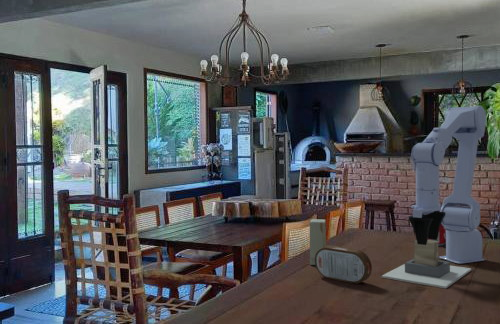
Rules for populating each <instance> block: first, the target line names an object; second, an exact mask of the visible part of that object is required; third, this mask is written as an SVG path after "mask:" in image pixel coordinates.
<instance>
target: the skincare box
mask: <svg viewBox="0 0 500 324" xmlns="http://www.w3.org/2000/svg"><path fill="white" fill-rule="evenodd" d="M326 221H327V220H326V219H320V218H318V219H316V218H314V219H313V218H311V219H310V221H309V265H310V266H316V265H315V255H316V253H317V251H318V250H319V249H321V248H323V247H324V246H326V245H327V240H326V239H327V234H326V233H327V231H326V227H327V225H326V224H327V223H326Z"/></svg>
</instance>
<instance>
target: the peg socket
mask: <svg viewBox="0 0 500 324" xmlns="http://www.w3.org/2000/svg"><path fill="white" fill-rule="evenodd" d="M471 271H472V268H471V267H470V268H469V267H465V266H464V267H463V266H458V265H457V266H455V265H451V261H447V260H446V261H445V260H439V259H438V267H437V266H430V265H423V264H416V263H414V257H413V258H411V259H410V260H408V261H405V263H404V264H402V265H400V266H398V267H395V268H394V269H392V270H390V271H388V272H385V273H384V274H383V275H381V278H382V279H383V278H384V279H389V280H395V281H399V282H405V283H412V284H416V285H423V286H427V287H428V286H430V287H434V288H441V289H447V288H449V287H450V286H452V285H453V284H455V282H457V281H458V280H459V279H462V278H463V277H464V276H466V275H467V274H468V273H469V272H471Z"/></svg>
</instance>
